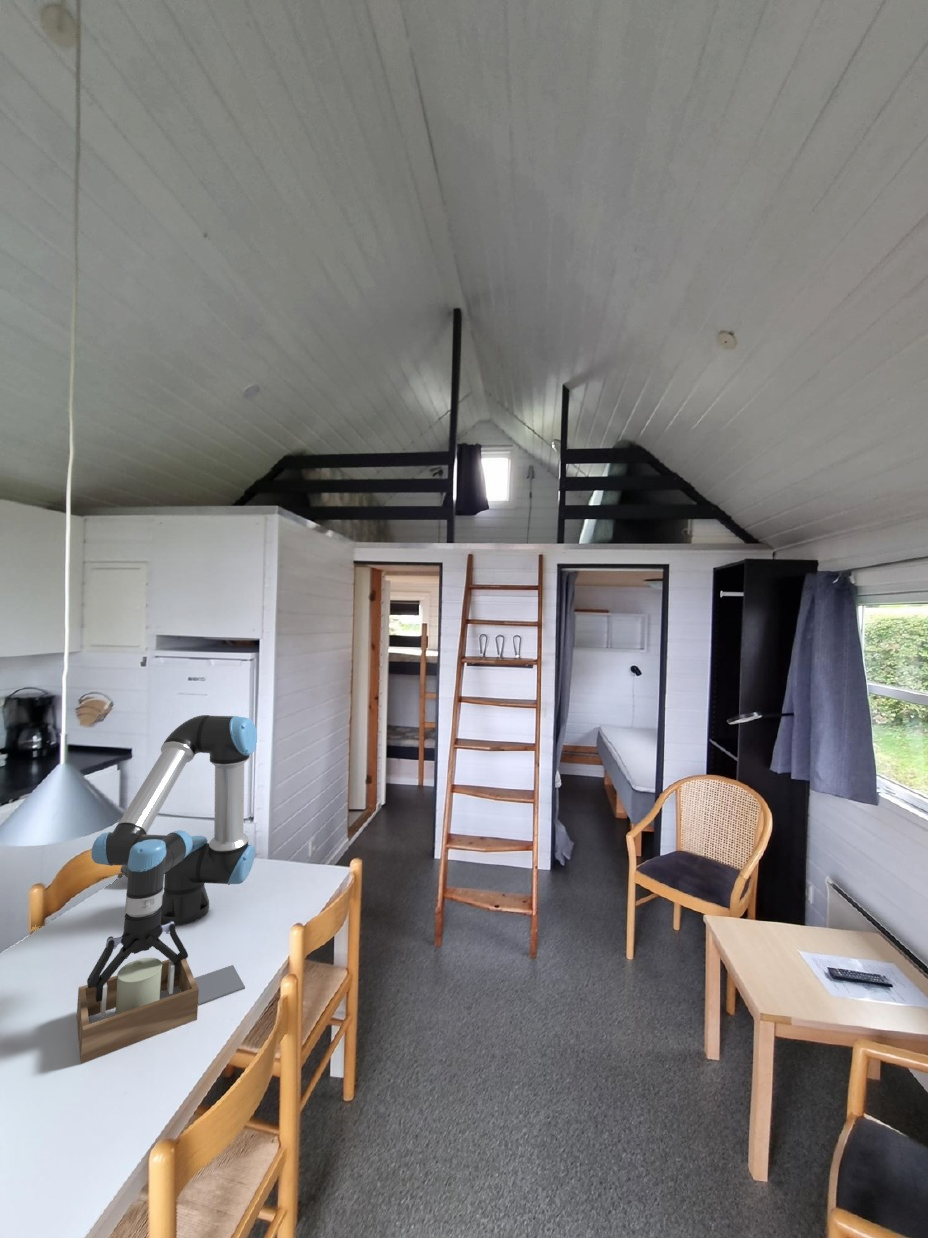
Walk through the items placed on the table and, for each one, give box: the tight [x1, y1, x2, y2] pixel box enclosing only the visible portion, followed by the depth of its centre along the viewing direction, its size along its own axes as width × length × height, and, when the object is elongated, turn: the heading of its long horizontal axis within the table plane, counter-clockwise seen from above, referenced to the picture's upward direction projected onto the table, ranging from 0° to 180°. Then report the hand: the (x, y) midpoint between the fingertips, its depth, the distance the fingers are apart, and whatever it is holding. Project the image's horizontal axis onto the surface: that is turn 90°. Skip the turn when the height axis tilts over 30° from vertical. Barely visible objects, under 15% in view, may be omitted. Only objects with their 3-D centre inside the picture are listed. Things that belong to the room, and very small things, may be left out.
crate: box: [76, 958, 199, 1065], centre depth 125 cm, size 16×22×7 cm
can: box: [114, 957, 162, 1016], centre depth 125 cm, size 9×9×12 cm
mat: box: [194, 964, 246, 1007], centre depth 137 cm, size 11×11×1 cm
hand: (137, 1002), depth 124 cm, fingers open, 13 cm apart
